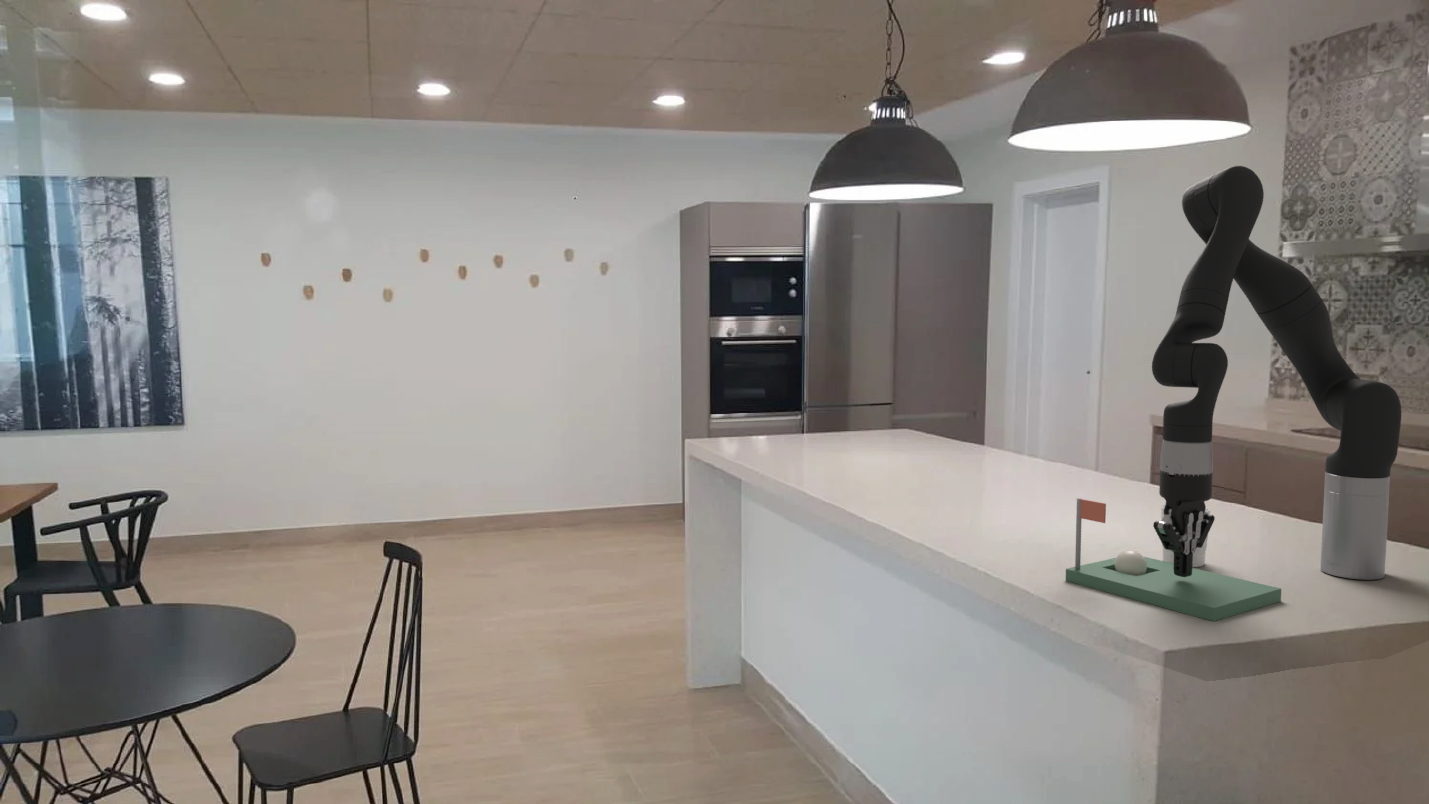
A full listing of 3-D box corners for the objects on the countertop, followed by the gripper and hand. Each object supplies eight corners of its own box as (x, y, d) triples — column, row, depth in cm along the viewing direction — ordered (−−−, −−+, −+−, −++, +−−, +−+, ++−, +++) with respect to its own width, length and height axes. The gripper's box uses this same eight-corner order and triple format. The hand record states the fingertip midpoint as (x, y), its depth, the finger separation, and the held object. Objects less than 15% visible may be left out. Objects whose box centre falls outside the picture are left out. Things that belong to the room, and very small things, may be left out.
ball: (1129, 546, 166) (1155, 554, 162) (1126, 574, 167) (1151, 583, 162) (1110, 547, 164) (1135, 555, 159) (1106, 576, 164) (1131, 584, 160)
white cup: (1166, 555, 180) (1168, 502, 179) (1212, 561, 175) (1214, 507, 174) (1154, 563, 174) (1155, 509, 173) (1201, 571, 169) (1204, 514, 168)
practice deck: (1132, 565, 173) (1134, 487, 172) (1280, 601, 151) (1284, 512, 150) (1065, 580, 164) (1067, 498, 163) (1213, 621, 142) (1217, 527, 140)
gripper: (1189, 462, 160) (1186, 564, 162) (1138, 469, 154) (1135, 576, 155) (1233, 467, 154) (1229, 574, 156) (1182, 476, 147) (1178, 587, 149)
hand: (1182, 575), depth 156 cm, fingers closed
